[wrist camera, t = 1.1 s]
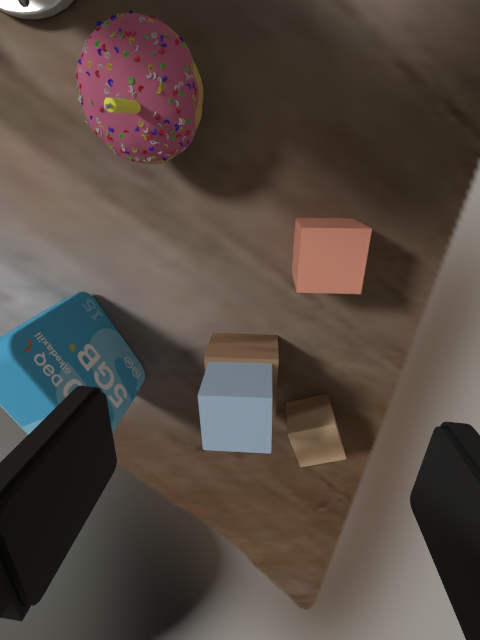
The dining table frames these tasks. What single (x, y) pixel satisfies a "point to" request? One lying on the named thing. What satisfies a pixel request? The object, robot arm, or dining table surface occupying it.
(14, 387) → the data package
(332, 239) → the salmon orange block
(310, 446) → the block
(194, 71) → the cupcake
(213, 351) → the tower base
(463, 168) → the dining table surface
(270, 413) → the tower top
